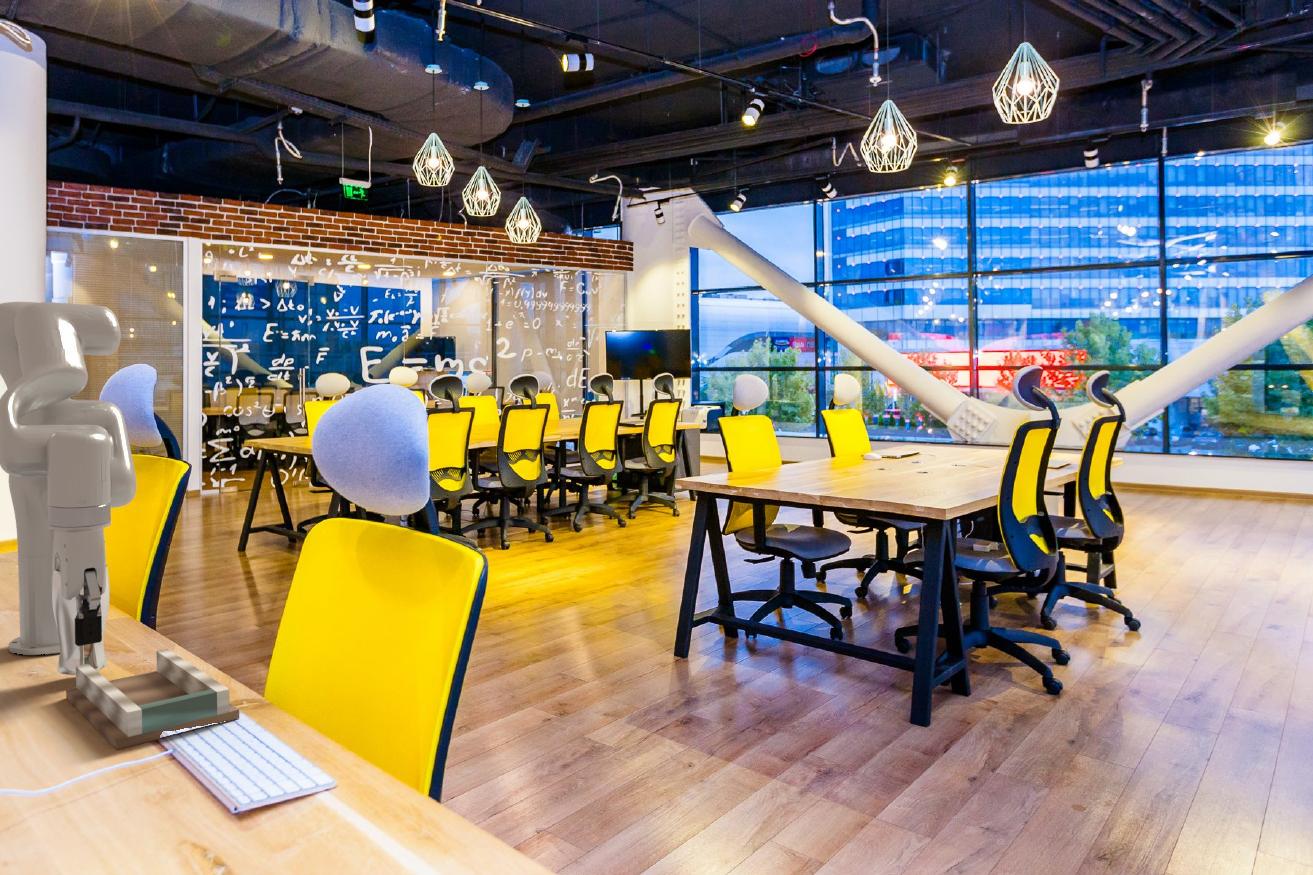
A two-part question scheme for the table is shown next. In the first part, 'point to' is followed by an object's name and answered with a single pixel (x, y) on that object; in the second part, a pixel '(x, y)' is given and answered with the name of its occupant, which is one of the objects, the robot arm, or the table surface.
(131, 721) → the track board
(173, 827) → the table surface
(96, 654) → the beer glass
